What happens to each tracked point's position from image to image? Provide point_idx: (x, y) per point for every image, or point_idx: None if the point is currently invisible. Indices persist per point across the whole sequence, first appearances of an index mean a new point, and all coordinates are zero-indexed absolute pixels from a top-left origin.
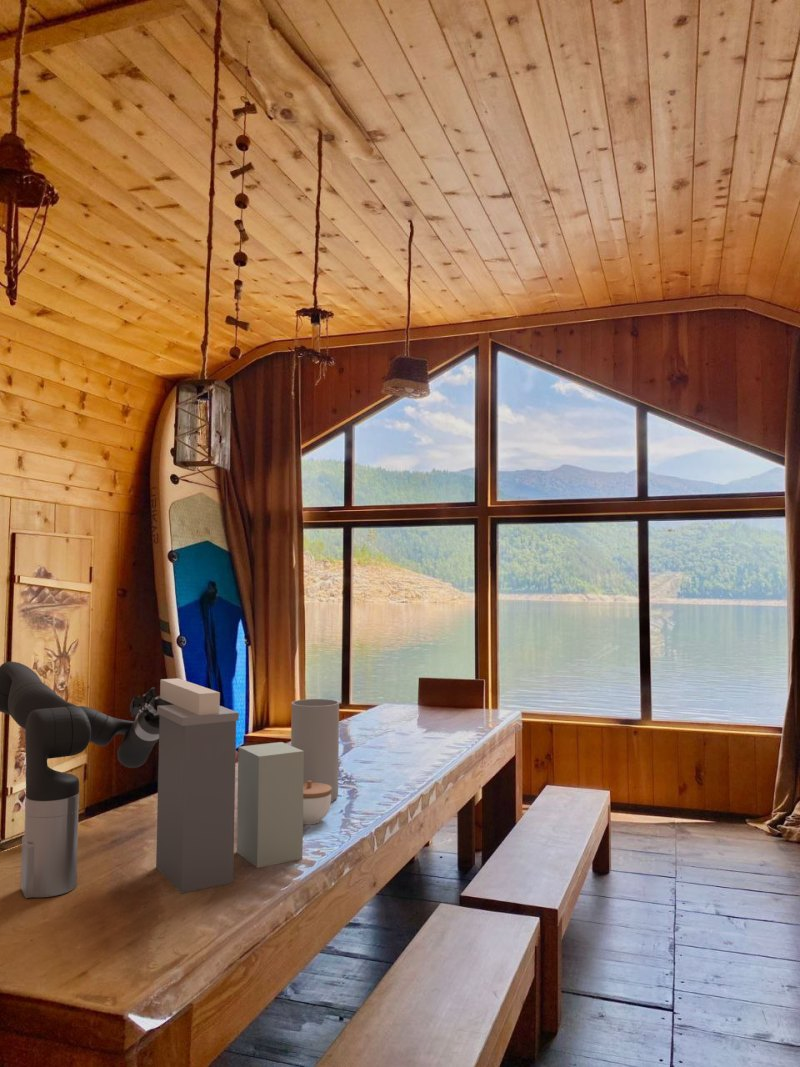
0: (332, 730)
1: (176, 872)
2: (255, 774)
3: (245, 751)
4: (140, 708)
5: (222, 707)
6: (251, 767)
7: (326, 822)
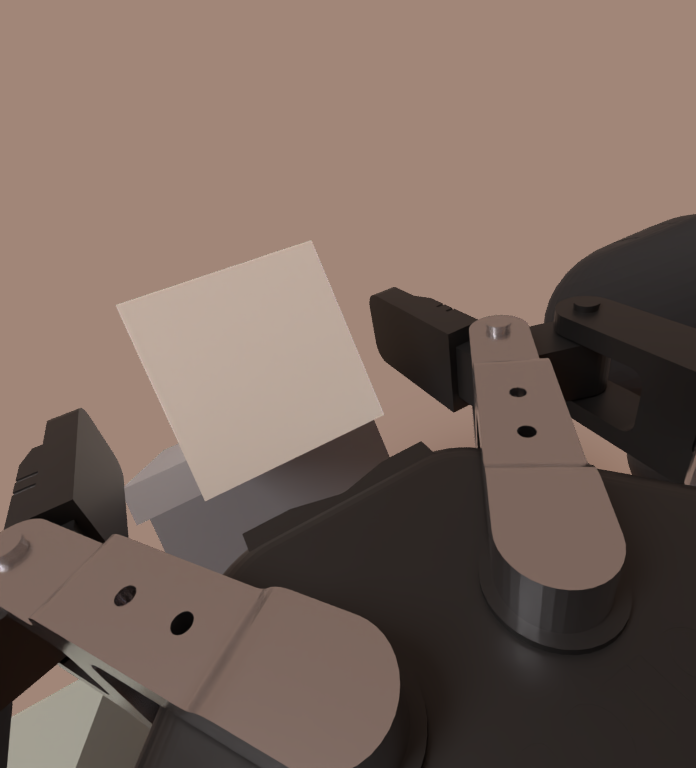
0: None
1: None
2: (140, 733)
3: (86, 751)
4: (688, 477)
5: (157, 459)
6: (125, 747)
7: None
